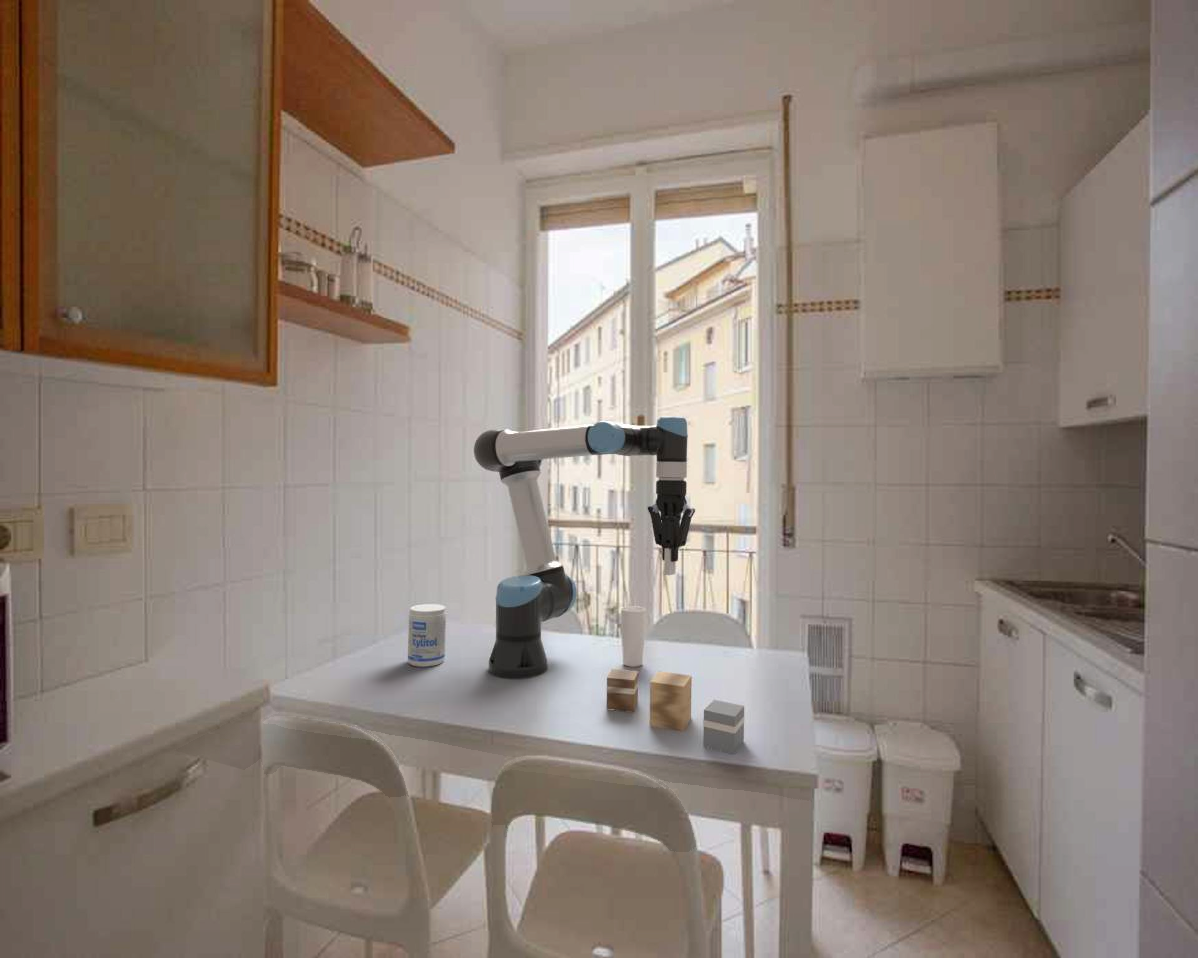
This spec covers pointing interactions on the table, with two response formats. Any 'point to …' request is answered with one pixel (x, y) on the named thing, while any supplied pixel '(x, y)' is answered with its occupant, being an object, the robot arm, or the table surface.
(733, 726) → the grey block
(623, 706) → the walnut block
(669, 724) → the oak block
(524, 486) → the robot arm
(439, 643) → the supplement tub
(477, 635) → the table surface
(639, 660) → the drinking glass
